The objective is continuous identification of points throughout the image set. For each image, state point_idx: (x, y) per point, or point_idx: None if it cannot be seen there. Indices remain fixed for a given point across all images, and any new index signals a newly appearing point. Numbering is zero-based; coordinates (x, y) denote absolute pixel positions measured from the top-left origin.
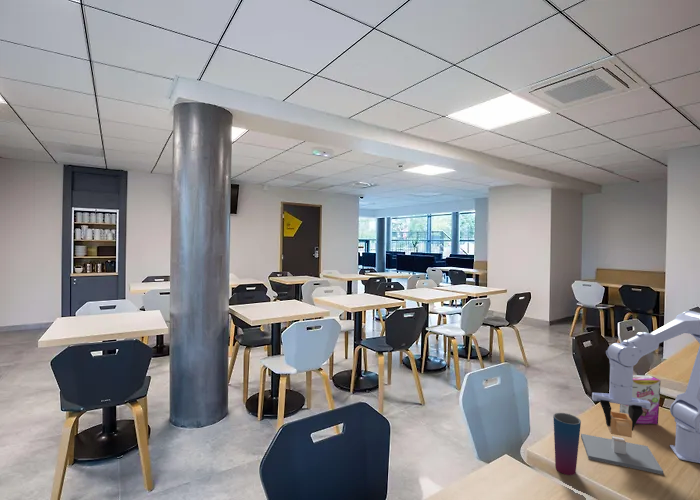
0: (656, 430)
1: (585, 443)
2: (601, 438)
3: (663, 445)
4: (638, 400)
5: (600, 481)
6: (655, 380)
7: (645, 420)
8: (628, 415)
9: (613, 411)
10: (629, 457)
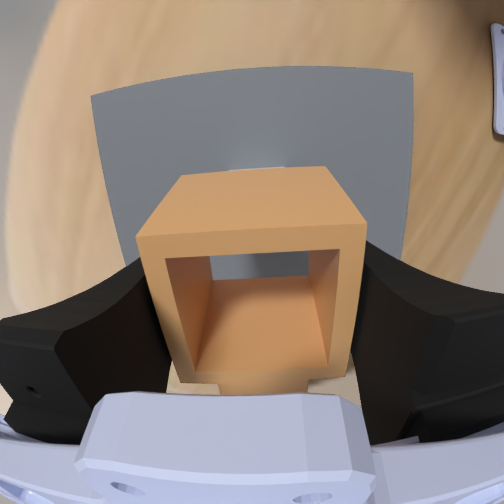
0: None
1: (113, 199)
2: (185, 89)
3: (471, 16)
4: (497, 499)
5: (185, 386)
6: None
7: None
8: (360, 272)
9: (200, 232)
10: None
